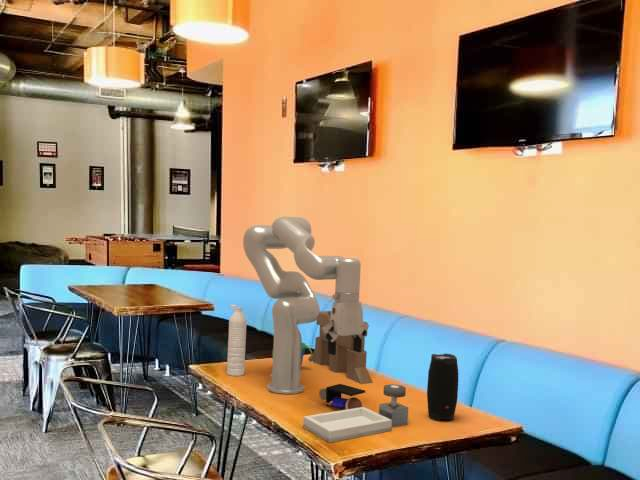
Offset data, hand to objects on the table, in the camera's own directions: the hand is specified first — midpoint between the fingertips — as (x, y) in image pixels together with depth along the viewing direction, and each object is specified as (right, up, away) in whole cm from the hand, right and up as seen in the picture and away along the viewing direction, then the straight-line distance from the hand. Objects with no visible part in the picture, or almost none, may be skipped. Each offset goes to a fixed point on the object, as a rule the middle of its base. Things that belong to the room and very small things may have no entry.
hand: (344, 352), depth 186 cm
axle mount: (+14, -19, -10) cm, 25 cm away
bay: (0, -18, -17) cm, 25 cm away
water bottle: (-40, -15, +37) cm, 56 cm away
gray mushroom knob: (+14, -15, -10) cm, 23 cm away
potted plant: (-19, -16, +48) cm, 53 cm away
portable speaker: (+29, -19, -3) cm, 35 cm away
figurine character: (-1, -18, +1) cm, 18 cm away
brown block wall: (0, -17, +50) cm, 52 cm away
